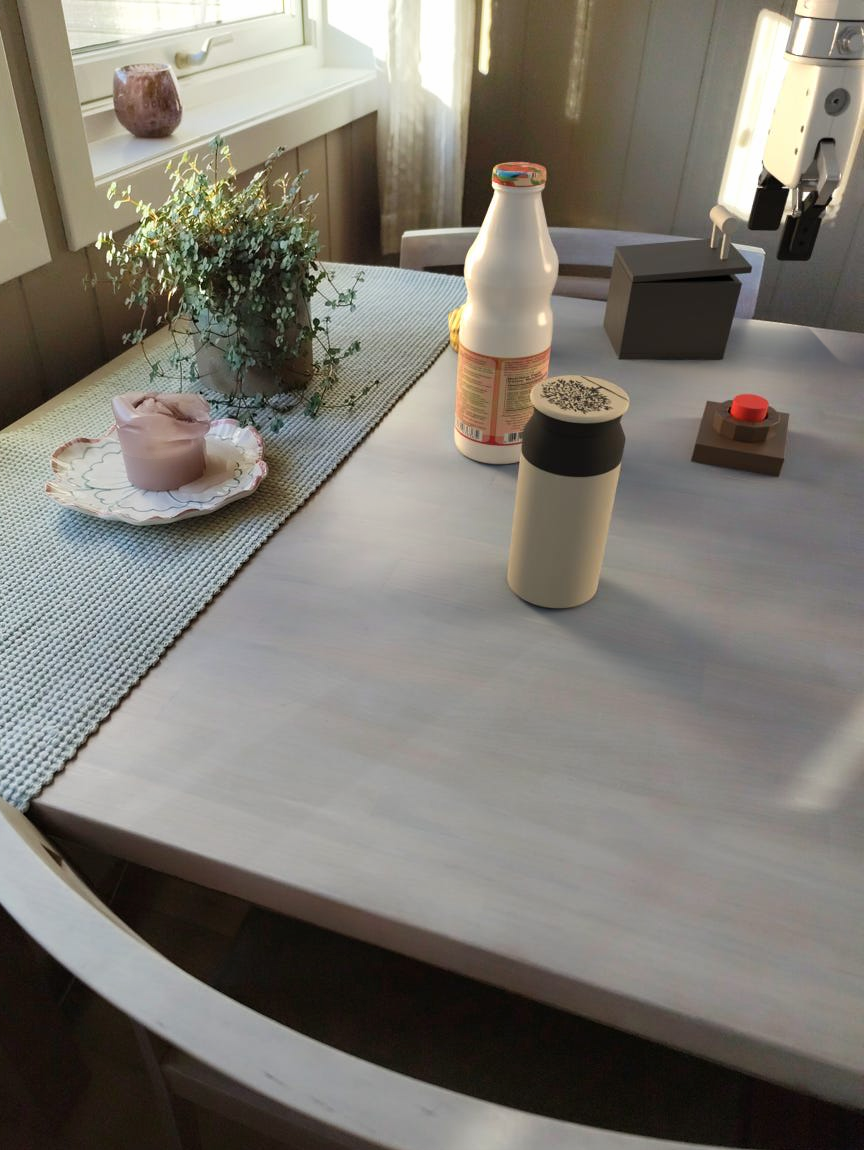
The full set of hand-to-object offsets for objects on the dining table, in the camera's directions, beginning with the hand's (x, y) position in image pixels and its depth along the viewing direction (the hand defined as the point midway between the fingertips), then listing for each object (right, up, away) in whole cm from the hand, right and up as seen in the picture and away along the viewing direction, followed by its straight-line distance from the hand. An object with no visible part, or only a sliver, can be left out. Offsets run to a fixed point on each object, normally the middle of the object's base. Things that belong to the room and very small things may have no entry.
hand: (776, 244), depth 90 cm
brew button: (0, -16, +7) cm, 17 cm away
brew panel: (0, -18, +9) cm, 20 cm away
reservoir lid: (-2, +8, +24) cm, 26 cm away
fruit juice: (-27, -19, +9) cm, 34 cm away
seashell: (-27, -1, +30) cm, 40 cm away
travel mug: (-25, -35, -10) cm, 44 cm away
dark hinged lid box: (-2, 0, +31) cm, 31 cm away
